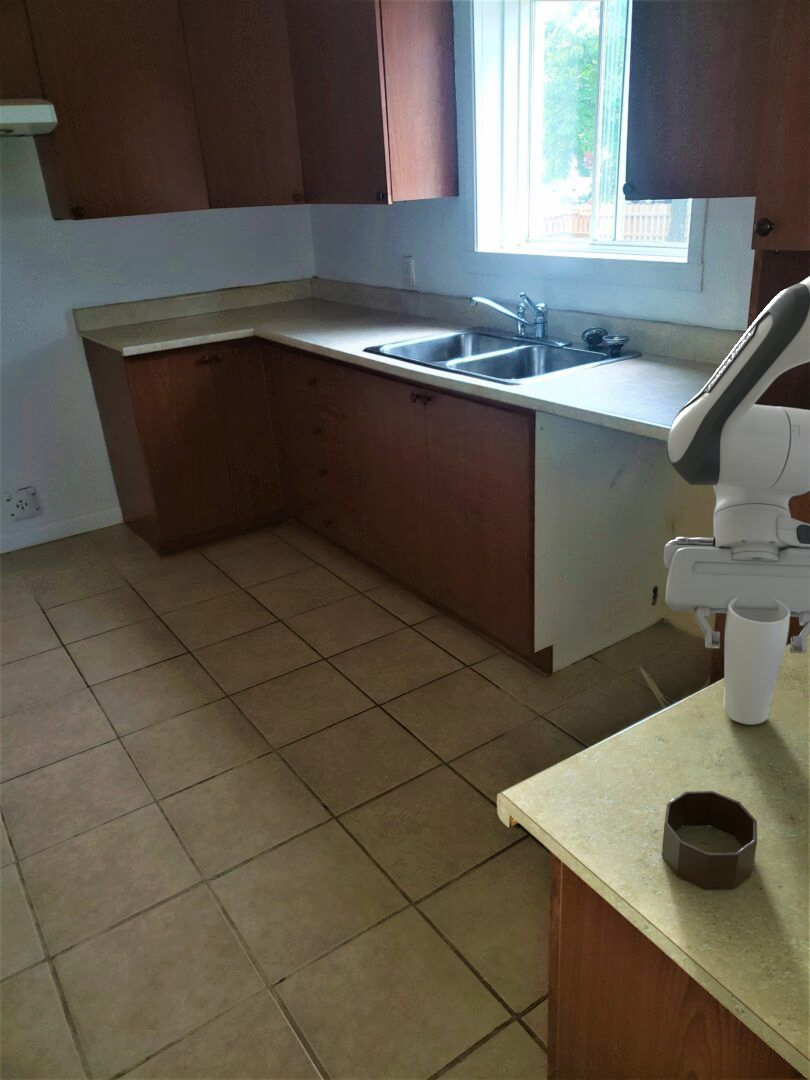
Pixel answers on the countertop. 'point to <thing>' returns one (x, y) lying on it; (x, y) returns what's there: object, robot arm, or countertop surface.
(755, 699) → the drinking glass
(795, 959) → the countertop surface
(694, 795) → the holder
